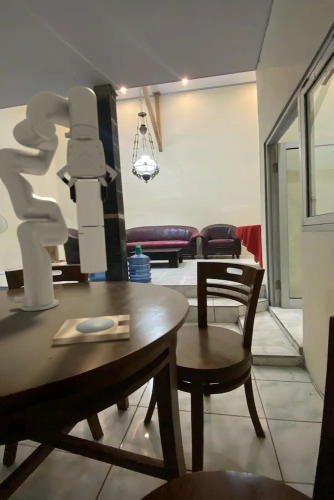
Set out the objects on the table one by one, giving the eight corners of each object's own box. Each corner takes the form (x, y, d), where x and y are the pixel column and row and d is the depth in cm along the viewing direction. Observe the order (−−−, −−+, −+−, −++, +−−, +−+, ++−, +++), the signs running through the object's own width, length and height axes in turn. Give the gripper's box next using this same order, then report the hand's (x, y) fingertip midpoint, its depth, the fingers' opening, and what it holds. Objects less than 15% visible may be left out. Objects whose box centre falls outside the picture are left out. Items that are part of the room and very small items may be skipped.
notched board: (52, 345, 62) (52, 337, 62) (67, 324, 76) (66, 318, 75) (129, 338, 64) (129, 330, 64) (129, 319, 78) (129, 313, 78)
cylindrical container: (100, 272, 70) (94, 179, 69) (76, 273, 71) (69, 181, 70) (110, 269, 77) (105, 183, 76) (88, 269, 78) (82, 186, 77)
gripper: (47, 131, 67) (53, 201, 68) (116, 132, 70) (120, 199, 71) (55, 142, 74) (60, 204, 75) (117, 142, 77) (120, 202, 78)
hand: (89, 201), depth 73 cm, fingers closed on cylindrical container, 7 cm apart
